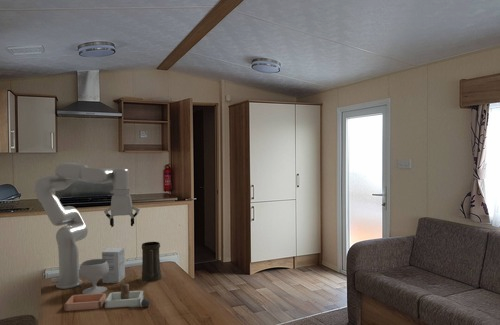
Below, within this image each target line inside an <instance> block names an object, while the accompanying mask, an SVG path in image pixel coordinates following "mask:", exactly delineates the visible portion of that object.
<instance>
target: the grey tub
mask: <svg viewBox="0 0 500 325" xmlns="http://www.w3.org/2000/svg"><path fill="white" fill-rule="evenodd" d="M106 298H107V299H106V300H105V302H104V308H105V309H111V308H120V307H121V308H125V307H129V308H139V307H141V306H142V304H141V302H142V300H143V299H145V298H144V290H129V299H122V300H121V291H115V292H114V291H112V292H109V294H108V296H106Z"/></svg>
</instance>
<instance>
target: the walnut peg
mask: <svg viewBox="0 0 500 325" xmlns="http://www.w3.org/2000/svg"><path fill="white" fill-rule="evenodd" d="M129 291H130V284H129V283H122V284H121V285H120V292H121V300H122V299H129Z"/></svg>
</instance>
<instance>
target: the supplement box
mask: <svg viewBox="0 0 500 325" xmlns="http://www.w3.org/2000/svg"><path fill="white" fill-rule="evenodd" d="M101 259H104V260H106V261H107V263H108V266H109V272H108V273H107V275H106V276H104V277H103V278H102V283H104V284H105V283H109V284H110V283H111V284H113V283H115V284H118V283H120V282H122V281H123V279H125V278H126V270H125V269H126V267H125V264H126V263H125V247H107V248H106V249H104V251H102V252H101Z"/></svg>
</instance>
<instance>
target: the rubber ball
mask: <svg viewBox="0 0 500 325" xmlns="http://www.w3.org/2000/svg"><path fill="white" fill-rule="evenodd" d="M150 304H151V301H150V299H148V298H143V300H142V302H141V306H142V307H143V308H146V307H149V305H150Z"/></svg>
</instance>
